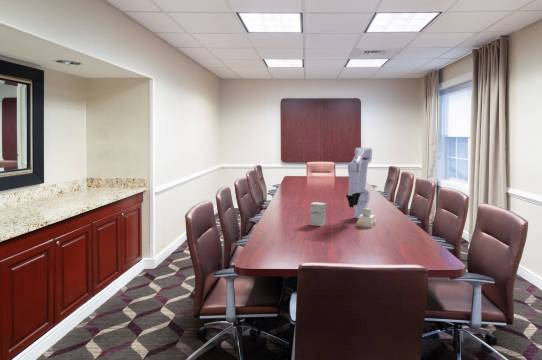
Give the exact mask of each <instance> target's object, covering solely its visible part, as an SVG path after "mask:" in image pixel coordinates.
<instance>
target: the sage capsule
mask: <svg viewBox="0 0 542 360" xmlns="http://www.w3.org/2000/svg"><path fill="white" fill-rule="evenodd" d="M371 212H372V209H371V208H369V207H368V208H363V216H366V217H369V216H371V215H372V213H371Z"/></svg>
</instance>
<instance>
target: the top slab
mask: <svg viewBox="0 0 542 360" xmlns="http://www.w3.org/2000/svg"><path fill="white" fill-rule="evenodd" d="M375 217H376V216H375V215H374V214H371V216H369V217H366V216H363V214H361V215H360V216H358V218H357V221H358V222H368V223H372V222H373V221H375V220H376V218H375Z"/></svg>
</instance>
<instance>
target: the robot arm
mask: <svg viewBox="0 0 542 360" xmlns="http://www.w3.org/2000/svg"><path fill="white" fill-rule="evenodd" d="M372 158H373V151H372V147H355V150H354V156H353V158H352V160H351V162H349V163H348V165H347V171H348V174H347V175H348V189H346V192H347V193H348V194H346V195H345V196H346V199H347V201H348V206H349V208H354V216H352V219H353V218H354V219H358V216H360V215H361V214H363V208H369V207H368V204H369V203H370V190H368V189H367V188H366V186H367V176H368V174H367V173H368V166H369V163H371V162H372Z"/></svg>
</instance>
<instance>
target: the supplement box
mask: <svg viewBox="0 0 542 360" xmlns="http://www.w3.org/2000/svg"><path fill="white" fill-rule="evenodd" d="M309 209H310V210H309V225H310V226H317V227H323V226H325V225H326V220H327V218H326V217H327V216H326V215H327V214H326V212H327V202H317V201H314V202H313V201H312V202H311V203H310V207H309Z"/></svg>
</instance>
